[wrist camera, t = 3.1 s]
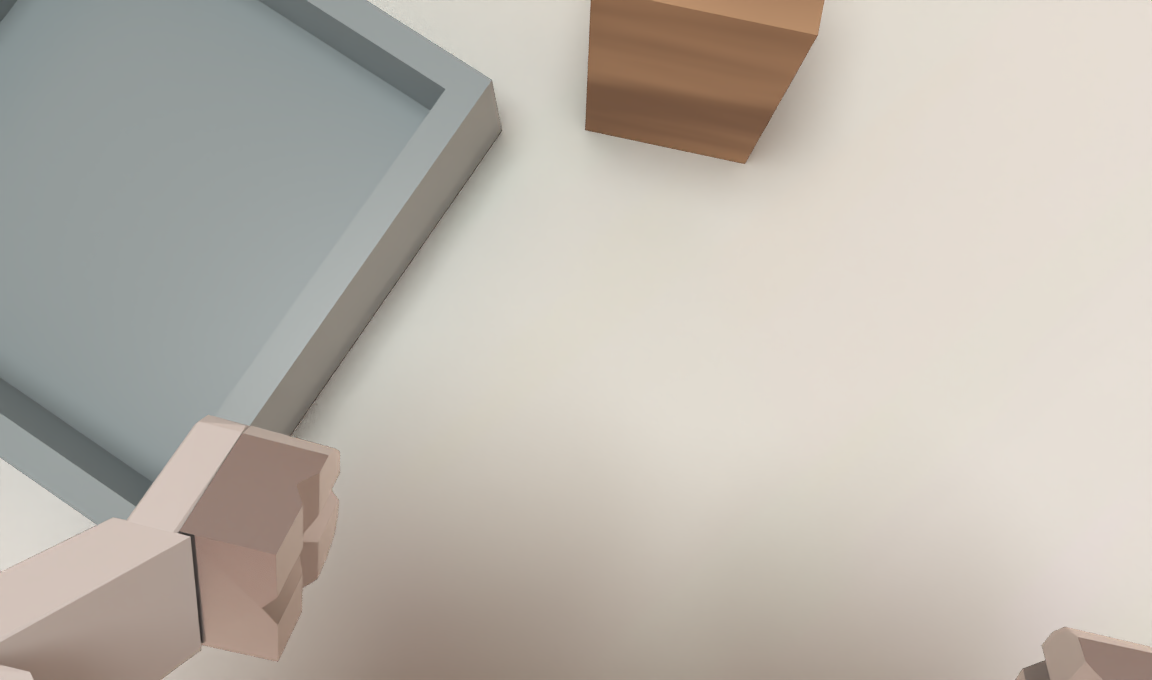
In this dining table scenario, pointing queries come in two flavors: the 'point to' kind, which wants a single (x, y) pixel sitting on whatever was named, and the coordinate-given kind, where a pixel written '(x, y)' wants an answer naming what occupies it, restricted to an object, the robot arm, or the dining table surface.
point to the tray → (204, 216)
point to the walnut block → (694, 69)
